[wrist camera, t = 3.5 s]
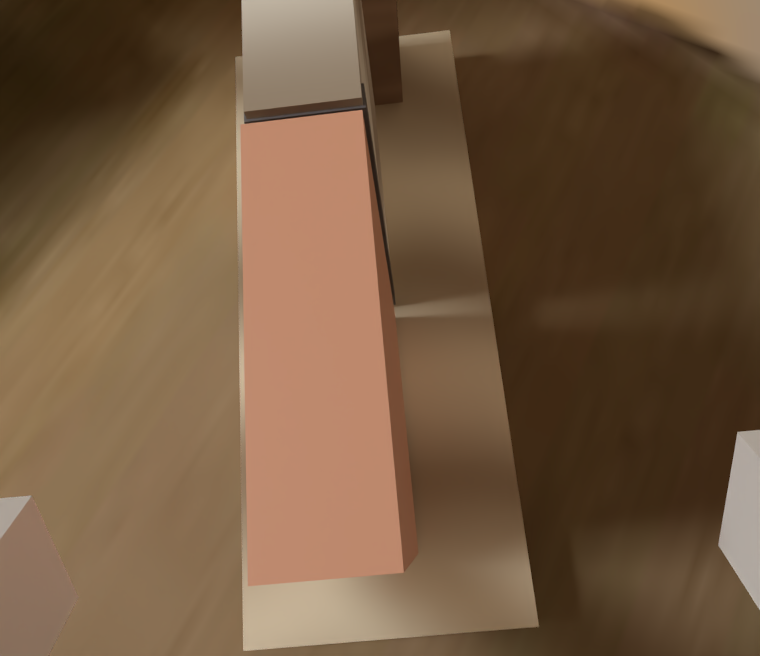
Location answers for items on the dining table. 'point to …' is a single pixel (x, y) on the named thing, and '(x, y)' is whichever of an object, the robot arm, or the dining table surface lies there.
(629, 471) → the dining table surface
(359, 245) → the stub
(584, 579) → the dining table surface
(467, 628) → the ticket stand
